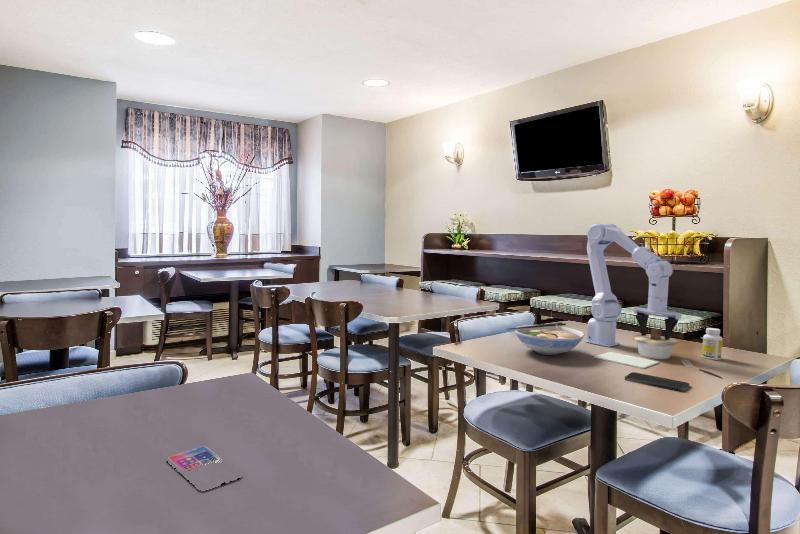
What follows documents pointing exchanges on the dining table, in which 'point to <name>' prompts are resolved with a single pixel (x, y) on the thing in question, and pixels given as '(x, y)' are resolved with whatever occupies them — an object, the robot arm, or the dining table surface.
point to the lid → (655, 338)
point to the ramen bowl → (549, 338)
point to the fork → (700, 369)
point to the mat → (626, 360)
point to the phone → (657, 382)
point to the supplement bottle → (712, 344)
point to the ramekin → (654, 350)
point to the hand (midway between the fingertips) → (655, 337)
